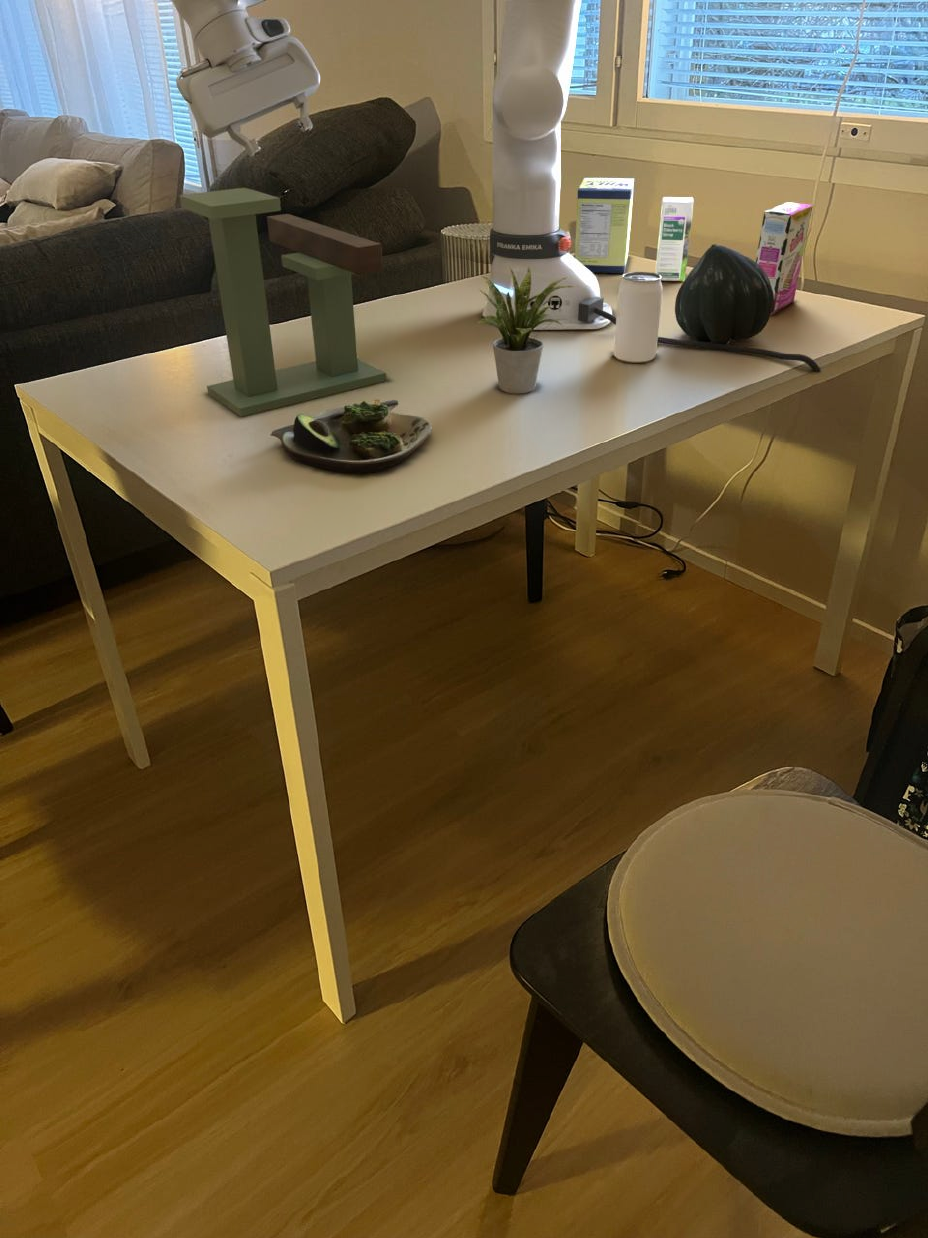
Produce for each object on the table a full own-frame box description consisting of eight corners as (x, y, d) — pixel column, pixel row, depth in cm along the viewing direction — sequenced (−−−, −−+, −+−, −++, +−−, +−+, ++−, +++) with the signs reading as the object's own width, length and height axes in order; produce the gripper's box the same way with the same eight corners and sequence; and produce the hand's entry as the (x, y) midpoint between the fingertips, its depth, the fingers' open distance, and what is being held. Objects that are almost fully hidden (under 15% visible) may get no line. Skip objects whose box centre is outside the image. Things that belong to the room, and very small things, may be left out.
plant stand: (208, 393, 131) (173, 194, 116) (348, 361, 142) (333, 176, 127) (241, 416, 123) (208, 207, 109) (386, 380, 134) (375, 186, 120)
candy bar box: (773, 315, 159) (791, 214, 150) (746, 311, 162) (762, 210, 153) (796, 301, 167) (814, 203, 158) (769, 297, 169) (785, 200, 160)
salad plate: (346, 403, 127) (343, 370, 124) (460, 425, 120) (459, 391, 117) (256, 454, 113) (251, 419, 110) (379, 483, 106) (376, 445, 103)
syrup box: (654, 281, 180) (663, 200, 172) (654, 273, 185) (662, 195, 177) (684, 281, 179) (694, 201, 171) (683, 274, 184) (693, 195, 176)
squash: (802, 315, 140) (772, 225, 142) (716, 330, 136) (687, 237, 138) (753, 356, 154) (726, 273, 155) (674, 370, 150) (648, 285, 151)
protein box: (628, 256, 197) (635, 176, 188) (625, 274, 184) (632, 189, 176) (579, 255, 199) (583, 175, 190) (572, 272, 186) (577, 188, 178)
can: (655, 364, 139) (663, 282, 132) (611, 362, 140) (618, 280, 133) (656, 351, 144) (664, 271, 137) (614, 349, 145) (621, 269, 138)
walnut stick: (269, 241, 135) (266, 216, 133) (290, 238, 136) (287, 213, 135) (360, 275, 117) (358, 247, 115) (383, 271, 119) (381, 243, 117)
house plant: (583, 404, 126) (591, 280, 117) (484, 411, 124) (484, 286, 115) (557, 370, 137) (563, 255, 128) (466, 376, 136) (465, 260, 126)
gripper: (173, 63, 129) (227, 160, 133) (295, 14, 135) (342, 108, 139) (167, 84, 134) (219, 176, 138) (284, 36, 141) (330, 125, 145)
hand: (282, 141), depth 139 cm, fingers open, 8 cm apart
